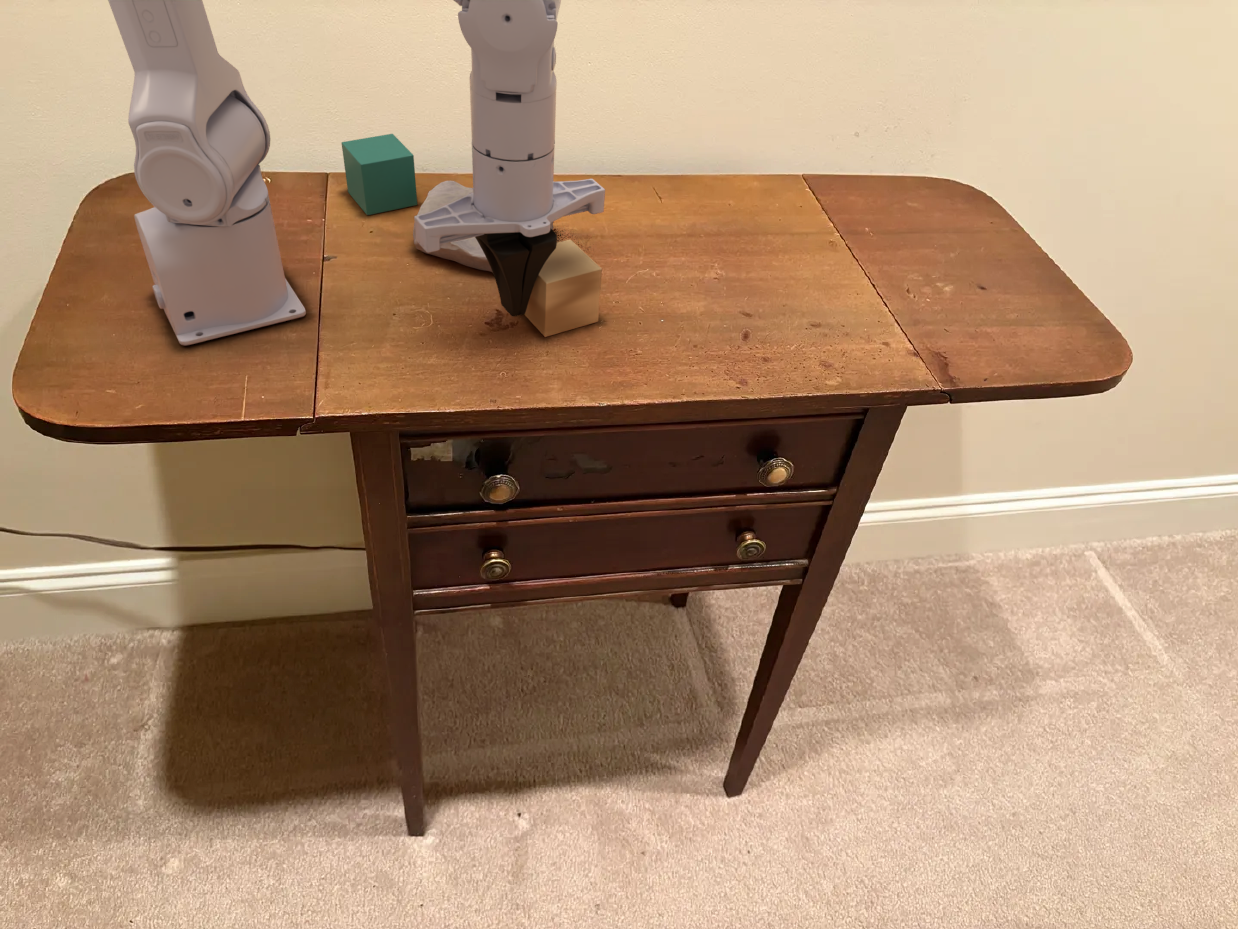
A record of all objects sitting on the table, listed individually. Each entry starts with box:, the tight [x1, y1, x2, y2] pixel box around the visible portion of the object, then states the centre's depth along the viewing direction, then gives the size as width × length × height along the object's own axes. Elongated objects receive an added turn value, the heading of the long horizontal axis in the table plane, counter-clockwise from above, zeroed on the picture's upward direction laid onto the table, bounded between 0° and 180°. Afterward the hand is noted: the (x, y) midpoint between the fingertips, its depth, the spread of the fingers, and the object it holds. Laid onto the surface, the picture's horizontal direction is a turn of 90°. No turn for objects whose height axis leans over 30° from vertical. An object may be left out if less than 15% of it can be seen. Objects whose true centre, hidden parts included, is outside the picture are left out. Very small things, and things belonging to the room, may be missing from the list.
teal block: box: [341, 133, 418, 216], centre depth 86 cm, size 5×5×5 cm
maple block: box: [523, 239, 603, 338], centre depth 74 cm, size 5×5×5 cm
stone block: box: [412, 180, 554, 274], centre depth 82 cm, size 12×5×10 cm
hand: (513, 308), depth 73 cm, fingers closed
